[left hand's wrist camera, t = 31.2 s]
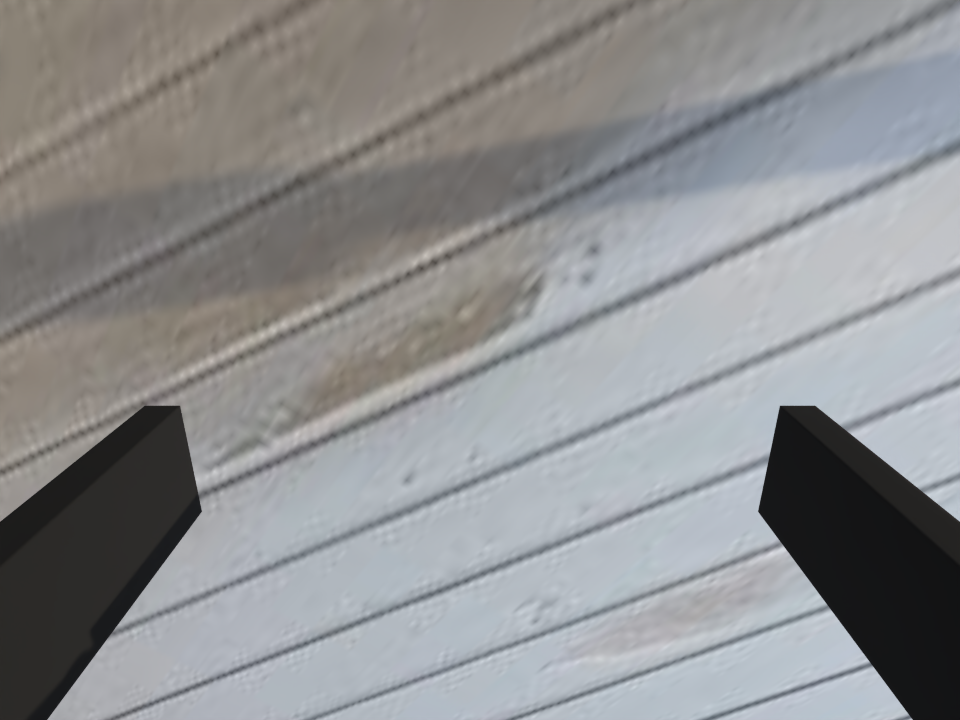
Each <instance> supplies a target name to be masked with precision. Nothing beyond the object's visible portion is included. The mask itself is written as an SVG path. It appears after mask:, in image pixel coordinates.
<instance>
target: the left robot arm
mask: <svg viewBox="0 0 960 720" xmlns="http://www.w3.org/2000/svg"><path fill="white" fill-rule="evenodd" d="M201 512H202V510H201V505H200V500H199V496H198V491H197V486H196V481H195V476H194V471H193V467H192V462H191V457H190V452H189V447H188V442H187V438H186V433H185V428H184V423H183V418H182V413H181V409H180V406H144V407H143V408H142V409H140V410H139V411H138V412H137V413H135V414H134V415H133V416H132V417H130V418H129V419H128V420H127V421H125V422H124V423H123V424H122V425H120V426H119V427H118V428H117V429H115V430H114V431H113V432H112V433H110V434H109V435H108V436H107V437H105V438H104V439H103V440H102V441H100V442H99V443H98V444H97V445H95V446H94V447H93V448H92V449H90V450H89V451H88V452H87V453H85V454H84V455H83V456H82V457H80V458H79V459H78V460H77V461H76V462H74V463H73V464H72V465H71V466H69V467H68V468H67V469H66V470H64V471H63V472H62V473H61V474H59V475H58V476H57V477H56V478H54V479H53V480H52V481H51V482H49V483H48V484H47V485H46V486H44V487H43V488H42V489H41V490H39V491H38V492H37V493H36V494H34V495H33V496H32V497H31V498H29V499H28V500H27V501H26V502H24V503H23V504H22V505H21V506H19V507H18V508H17V509H16V510H14V511H13V512H12V513H11V514H9V515H8V516H7V517H6V518H4V519H3V520H2V521H1V522H0V720H47V719H48V718H49V717H50V715H51V714H52V712H53V711H54V710H55V708H56V707H57V706H58V704H59V703H60V702H61V700H62V699H63V698H64V696H65V695H66V694H67V692H68V691H69V690H70V688H71V687H72V686H73V684H74V683H75V682H76V680H77V679H78V677H79V676H80V675H81V673H82V672H83V671H84V669H85V668H86V667H87V665H88V664H89V663H90V661H91V660H92V659H93V657H94V656H95V655H96V653H97V652H98V651H99V649H100V648H101V647H102V645H103V644H104V642H105V641H106V640H107V638H108V637H109V636H110V634H111V633H112V632H113V630H114V629H115V628H116V626H117V625H118V624H119V622H120V621H121V620H122V618H123V617H124V616H125V614H126V613H127V612H128V610H129V609H130V607H131V606H132V605H133V603H134V602H135V601H136V599H137V598H138V597H139V595H140V594H141V593H142V591H143V590H144V589H145V587H146V586H147V585H148V583H149V582H150V581H151V579H152V578H153V577H154V575H155V574H156V573H157V571H158V570H159V568H160V567H161V566H162V564H163V563H164V562H165V560H166V559H167V558H168V556H169V555H170V554H171V552H172V551H173V550H174V548H175V547H176V546H177V544H178V543H179V542H180V540H181V539H182V538H183V536H184V535H185V533H186V532H187V531H188V529H189V528H190V527H191V525H192V524H193V523H194V521H195V520H196V519H197V517H198V516H199V515H200V513H201ZM758 512H759V513H760V515H761V516H762V517H763V519H764V520H765V521H766V523H767V524H768V525H769V527H770V528H771V529H772V531H773V532H774V533H775V535H776V536H777V538H778V539H779V540H780V542H781V543H782V544H783V546H784V547H785V548H786V550H787V551H788V552H789V554H790V555H791V556H792V558H793V559H794V560H795V562H796V563H797V564H798V566H799V567H800V568H801V570H802V571H803V573H804V574H805V575H806V577H807V578H808V579H809V581H810V582H811V583H812V585H813V586H814V587H815V589H816V590H817V591H818V593H819V594H820V595H821V597H822V598H823V599H824V601H825V602H826V603H827V605H828V606H829V607H830V609H831V610H832V612H833V613H834V614H835V616H836V617H837V618H838V620H839V621H840V622H841V624H842V625H843V626H844V628H845V629H846V630H847V632H848V633H849V634H850V636H851V637H852V638H853V640H854V641H855V642H856V644H857V645H858V647H859V648H860V649H861V651H862V652H863V653H864V655H865V656H866V657H867V659H868V660H869V661H870V663H871V664H872V665H873V667H874V668H875V669H876V671H877V672H878V673H879V675H880V676H881V677H882V679H883V680H884V682H885V683H886V684H887V686H888V687H889V688H890V690H891V691H892V692H893V694H894V695H895V696H896V698H897V699H898V700H899V702H900V703H901V704H902V706H903V707H904V708H905V710H906V711H907V712H908V714H909V715H910V717H911V718H912V719H913V720H960V522H959V521H958V520H957V519H956V518H954V517H953V516H952V515H951V514H949V513H948V512H947V511H946V510H944V509H943V508H942V507H941V506H939V505H938V504H937V503H936V502H934V501H933V500H932V499H931V498H929V497H928V496H927V495H926V494H924V493H923V492H922V491H921V490H919V489H918V488H917V487H916V486H914V485H913V484H912V483H911V482H909V481H908V480H907V479H906V478H904V477H903V476H902V475H901V474H899V473H898V472H897V471H896V470H894V469H893V468H892V467H891V466H889V465H888V464H887V463H886V462H884V461H883V460H882V459H881V458H880V457H878V456H877V455H876V454H875V453H873V452H872V451H871V450H870V449H868V448H867V447H866V446H865V445H863V444H862V443H861V442H860V441H858V440H857V439H856V438H855V437H853V436H852V435H851V434H850V433H848V432H847V431H846V430H845V429H843V428H842V427H841V426H840V425H838V424H837V423H836V422H835V421H833V420H832V419H831V418H830V417H828V416H827V415H826V414H825V413H823V412H822V411H821V410H820V409H818V408H817V407H816V406H780V409H779V413H778V418H777V423H776V428H775V433H774V438H773V442H772V447H771V452H770V457H769V462H768V467H767V471H766V476H765V481H764V486H763V491H762V496H761V500H760V505H759V510H758Z"/></svg>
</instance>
